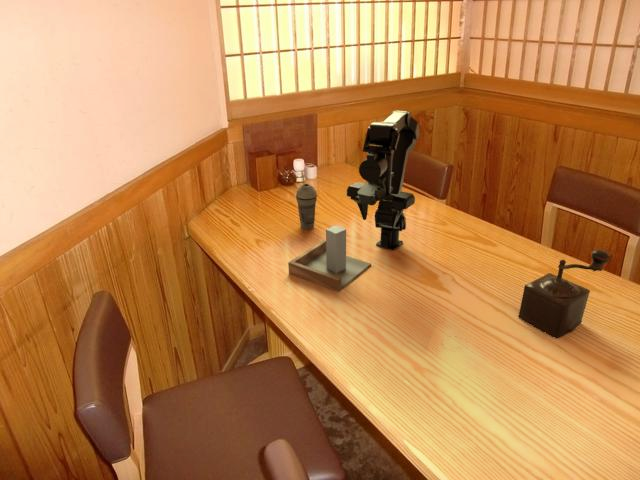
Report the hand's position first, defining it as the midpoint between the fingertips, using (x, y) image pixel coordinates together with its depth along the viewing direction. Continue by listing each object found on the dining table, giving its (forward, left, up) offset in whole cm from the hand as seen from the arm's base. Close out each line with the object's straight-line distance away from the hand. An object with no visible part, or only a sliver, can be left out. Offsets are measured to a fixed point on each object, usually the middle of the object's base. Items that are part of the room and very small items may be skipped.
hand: (378, 223), depth 132 cm
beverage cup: (-9, -33, -13) cm, 37 cm away
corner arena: (+10, -9, -13) cm, 19 cm away
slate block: (+10, -8, -13) cm, 18 cm away
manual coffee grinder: (-1, +49, -13) cm, 51 cm away
